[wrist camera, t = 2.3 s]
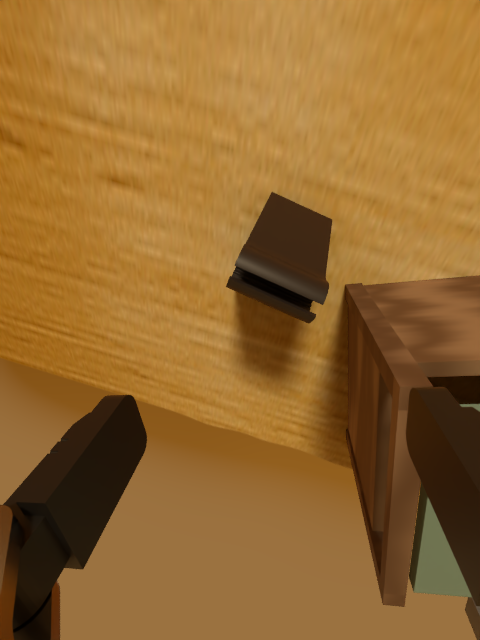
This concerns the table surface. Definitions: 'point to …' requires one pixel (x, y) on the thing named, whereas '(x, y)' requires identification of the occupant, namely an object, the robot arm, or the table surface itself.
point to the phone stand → (285, 259)
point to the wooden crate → (400, 399)
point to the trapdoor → (438, 559)
